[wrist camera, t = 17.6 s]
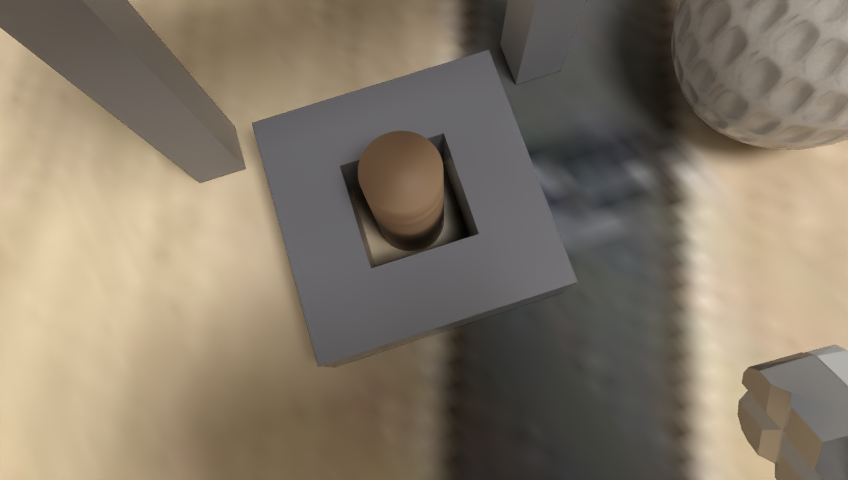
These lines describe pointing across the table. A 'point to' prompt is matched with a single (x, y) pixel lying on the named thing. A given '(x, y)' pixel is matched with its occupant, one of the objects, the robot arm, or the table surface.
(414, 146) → the peg
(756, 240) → the table surface
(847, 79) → the vase
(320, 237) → the socket station
